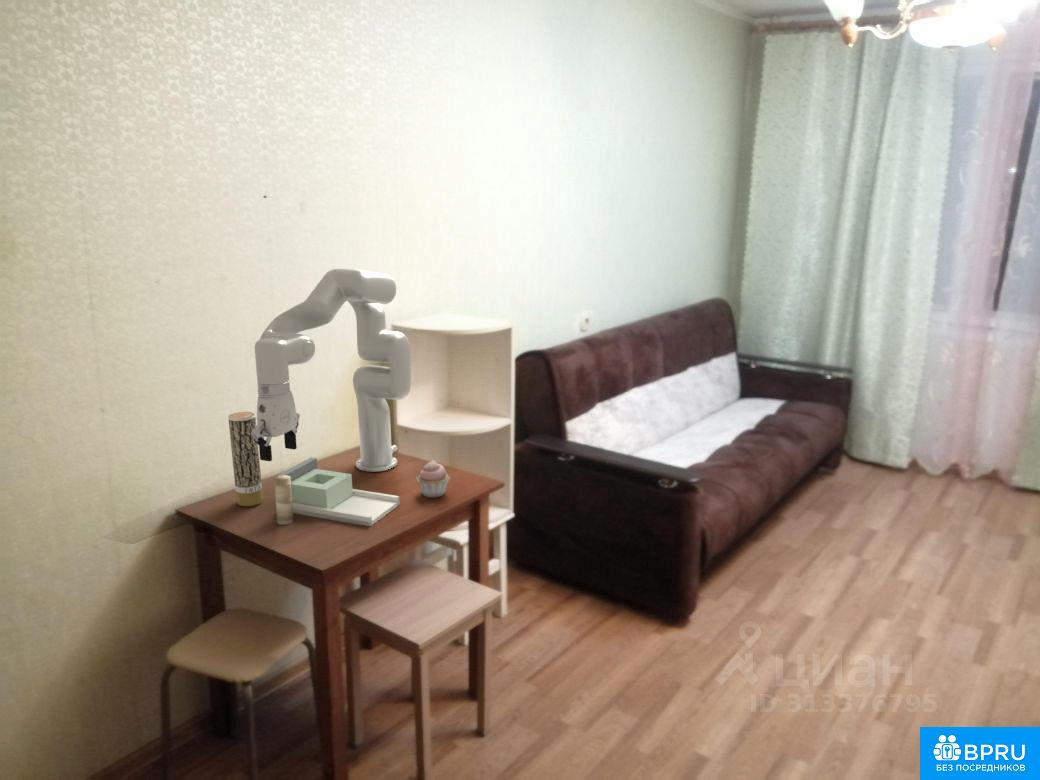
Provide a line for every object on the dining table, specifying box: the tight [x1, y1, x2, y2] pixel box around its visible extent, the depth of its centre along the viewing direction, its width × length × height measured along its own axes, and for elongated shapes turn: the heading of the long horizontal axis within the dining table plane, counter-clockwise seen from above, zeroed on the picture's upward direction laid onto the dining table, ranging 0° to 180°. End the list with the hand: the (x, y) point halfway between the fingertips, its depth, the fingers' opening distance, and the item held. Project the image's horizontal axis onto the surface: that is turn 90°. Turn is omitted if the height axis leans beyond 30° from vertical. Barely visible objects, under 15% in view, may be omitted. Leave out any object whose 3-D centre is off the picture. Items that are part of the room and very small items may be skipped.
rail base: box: [276, 457, 400, 527], centre depth 210 cm, size 15×28×10 cm, turn 69°
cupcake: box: [416, 459, 450, 499], centre depth 220 cm, size 9×9×10 cm
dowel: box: [273, 475, 294, 526], centre depth 201 cm, size 4×4×12 cm
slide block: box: [291, 468, 353, 509], centre depth 213 cm, size 12×12×6 cm
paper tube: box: [227, 411, 264, 507], centre depth 212 cm, size 7×7×25 cm
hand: (278, 454), depth 198 cm, fingers open, 9 cm apart
